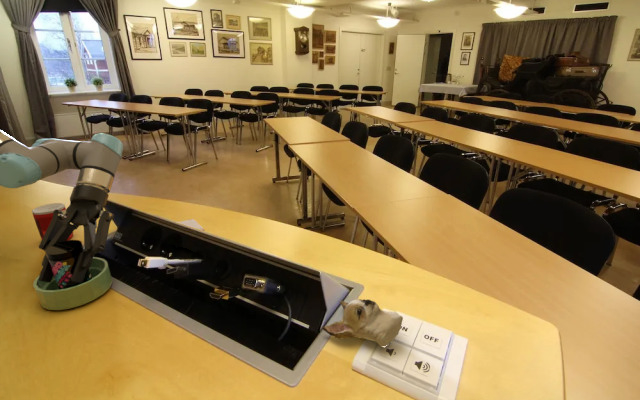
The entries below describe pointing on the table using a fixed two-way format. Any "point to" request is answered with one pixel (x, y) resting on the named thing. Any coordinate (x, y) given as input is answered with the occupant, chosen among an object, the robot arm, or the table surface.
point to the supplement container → (65, 262)
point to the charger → (192, 224)
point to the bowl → (74, 288)
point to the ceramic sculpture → (366, 322)
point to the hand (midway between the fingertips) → (60, 281)
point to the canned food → (46, 216)
